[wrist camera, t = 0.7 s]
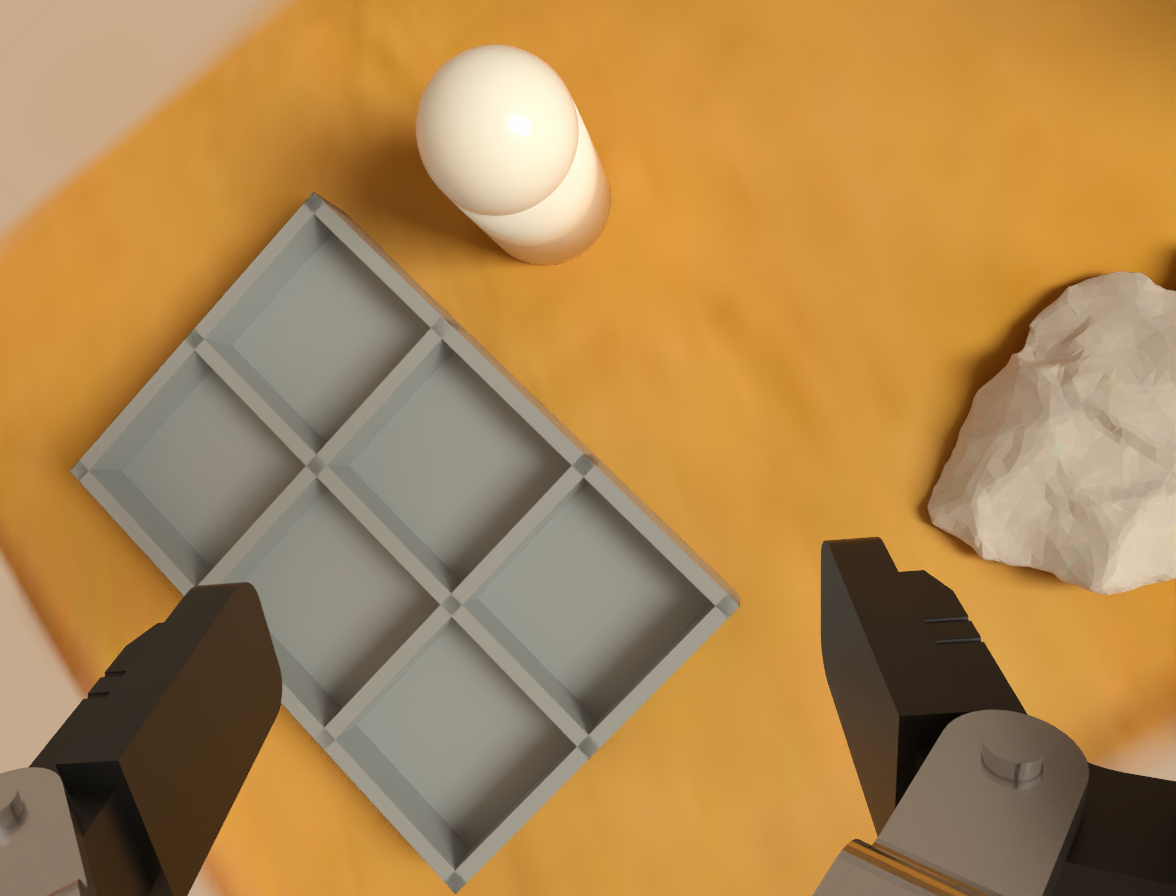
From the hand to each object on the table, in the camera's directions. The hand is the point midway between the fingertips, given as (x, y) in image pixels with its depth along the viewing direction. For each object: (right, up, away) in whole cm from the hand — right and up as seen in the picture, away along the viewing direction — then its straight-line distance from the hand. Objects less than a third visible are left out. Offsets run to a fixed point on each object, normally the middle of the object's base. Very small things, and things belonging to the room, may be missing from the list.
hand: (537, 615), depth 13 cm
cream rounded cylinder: (-1, +12, +24) cm, 27 cm away
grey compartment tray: (-7, -1, +24) cm, 25 cm away
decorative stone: (+20, +3, +20) cm, 29 cm away
